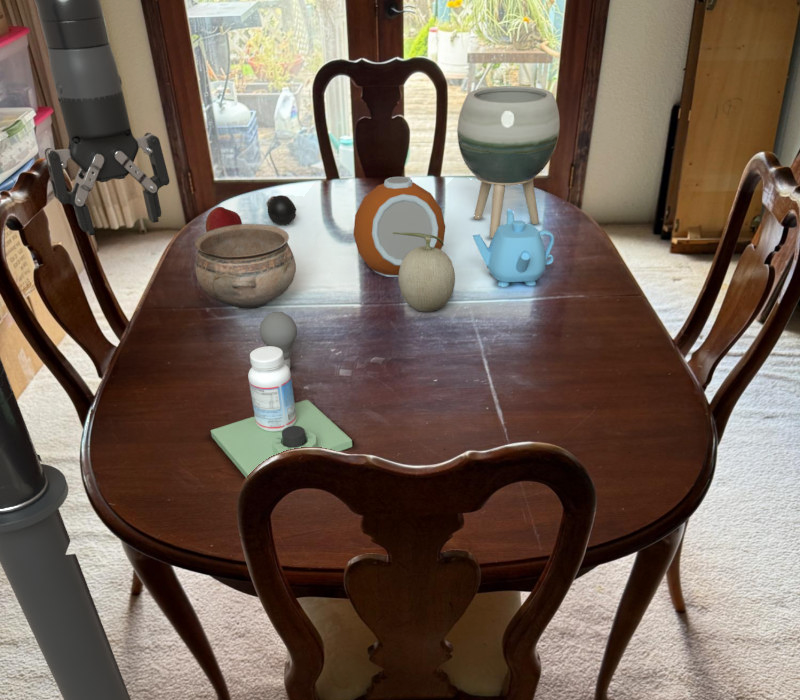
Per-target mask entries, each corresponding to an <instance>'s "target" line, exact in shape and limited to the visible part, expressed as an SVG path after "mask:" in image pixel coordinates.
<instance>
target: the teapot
mask: <svg viewBox="0 0 800 700" xmlns="http://www.w3.org/2000/svg"><path fill="white" fill-rule="evenodd" d="M542 236H548V237H549V241H548V245H547V246H546V249H545V245H544V242H543V241H544V240H543V239H542ZM472 238H473V240H474V243H475V245H476V247H477V249H478V251H479V253H480V255H481V256H480V257H481V258H482V260H483V263H484V264H485V266H486V267H487V270H488V271H489V273H490V274H491V276H492V277H493V278H494V279H496V280H498V282H497V286H498V287H502V288H505V287H509V286H510V283H523V282H524V285H526V286H529V287H530V286H532V287H533V286H536V285H537V282H536V281H537V280H538V279H539V278H540V277H541V276H543V273H544V272H545V269H546V266H549V265H552V264H553V262H554V256H553V255H552V254H551V251H552V249H553V246H554V244H555V236H554V234H553V233H552V232H551V231H549V230H545V229H543V230H539V229H538V227H536V226H534V224H530V223H526V222H525V221H523V220H515V216H514V212H513V209H511V208H507V210H506V223H505V224H500V226H499V227H498V228H497V230H496V232H495V234H494V236H493V238H491V241H490V243H489V245H488V246H487V244H486V243H485V241H484V240H483V238H482V236H481V234H473V235H472ZM548 258H549V259H548Z"/></svg>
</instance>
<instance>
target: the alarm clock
mask: <svg viewBox="0 0 800 700" xmlns="http://www.w3.org/2000/svg"><path fill="white" fill-rule="evenodd" d="M393 232H398V233H421V234H428V235H434V236H436V237H438V238H440V239H441V240H442V242H443V243H444V242H445V241H444V240H445V234H446V223H445V219H444V214H443V209H442V208H441V206H440V204H439V203H438V202H437V201H436V199H435V197H434V196H433V194H432V193H431V192H429V191H427V190H426V189H424V188H423V187H421V186H420V185H418V184H417V183H415V182H413V180H412V179H411V178H409V177H405V176H392V177H388V178H386V179H384V183H381V184H377V185H376V186H375V187H374V188H373V189H372V190H371V191H369V193H367V194H366V195H365V196H364V197H363V199H362V201H361V202H360V204H359V207H358V208H357V210H356V213H355V215H354V224H353V238H354V241H355V246H356V249H357V252H358V255H360V257H361V258H362V260H363V261H364V262H365V264H366V265H367V266H368V268H369V269H371V270H372V271H373V272H374V273H376V274H378V275H381V276H384V277H386V278H387V277H388V278H399V269H400V265H401V263H402V261H403V259H404V257H405V256H406V255H407V254H408V253H409V252H410V251H411V250H413V249H415V248H417V247H421V246H426V240H425V239H424V238H421V237H417V236H409V235H401V234H393ZM430 239H431V241H430V247H434V248H438V249H440V250H441V251H442V248H443V247H444V246H442V244H441V243H440V241H439V240H437V239H435V238H430Z"/></svg>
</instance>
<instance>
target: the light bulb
mask: <svg viewBox="0 0 800 700" xmlns="http://www.w3.org/2000/svg"><path fill="white" fill-rule="evenodd" d="M259 334H260V338H261V340H262V342H263V343H264V345H266V346H273V347H278V348H280V349H281V350H282V351H283V357H284V364H286V365H287V366H288V368H289V369H292V368H291V367H292V366H291V358H290V357H291V355H292V348H293V345H294V343H295V341H296V339H297V336H298V327H297V324H296V322H295V320H294V319H293V318H292V317H291V316H290V315H289V314H287V313H285V312H283V311H272V312H270V313H267V315H265V317H264V318H263V319H262V321H261V323H260V326H259Z"/></svg>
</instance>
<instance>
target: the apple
mask: <svg viewBox="0 0 800 700" xmlns="http://www.w3.org/2000/svg"><path fill="white" fill-rule="evenodd" d="M239 224H243V222H242V218H241V216H240V215H239V214H238V212H236V211H233V210H230V209H227V208H225V207H223V206H217V207H215V208H214V209H212V210H211V211H210V212H209V213H208V215H207V216H206V220H205V233H206V232H208V231H211V230H213V229H217V228H221V227H225V226H231V225H239Z"/></svg>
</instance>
